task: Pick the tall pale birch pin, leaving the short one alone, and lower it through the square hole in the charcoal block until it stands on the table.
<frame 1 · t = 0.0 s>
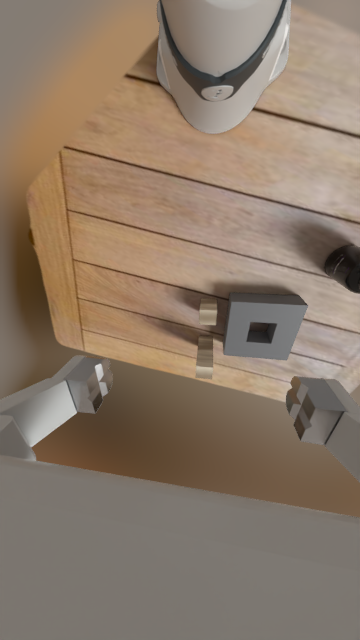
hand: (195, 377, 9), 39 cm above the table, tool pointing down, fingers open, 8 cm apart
supplement bottle: (341, 261, 40), on the table
tall pin: (205, 341, 56), on the table
socket block: (257, 321, 51), on the table
short pin: (208, 305, 50), on the table
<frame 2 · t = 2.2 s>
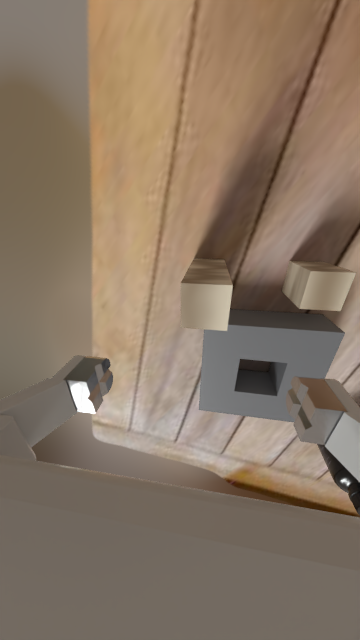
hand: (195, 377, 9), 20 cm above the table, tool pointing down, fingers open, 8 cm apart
supplement bottle: (329, 424, 35), on the table
tall pin: (208, 274, 26), on the table
socket block: (252, 356, 31), on the table
short pin: (301, 277, 25), on the table
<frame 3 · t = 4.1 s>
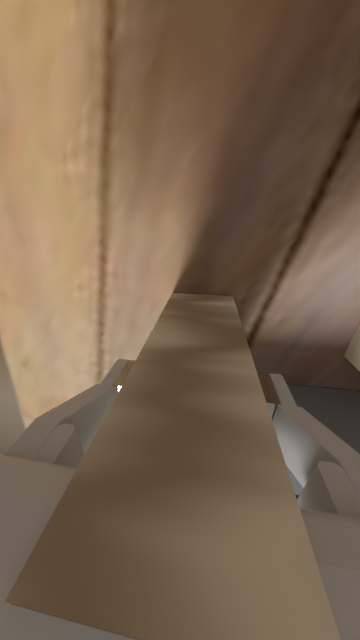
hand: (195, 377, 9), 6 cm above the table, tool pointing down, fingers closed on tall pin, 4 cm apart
tall pin: (200, 321, 14), on the table, touching gripper
socket block: (277, 446, 18), on the table
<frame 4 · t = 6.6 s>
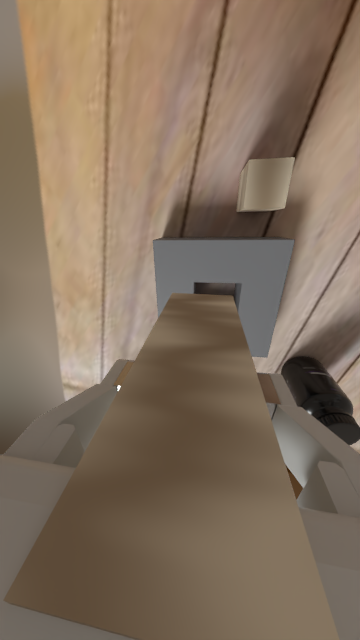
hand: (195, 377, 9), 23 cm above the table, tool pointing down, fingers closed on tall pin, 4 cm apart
supplement bottle: (299, 369, 35), on the table
tall pin: (200, 320, 14), point 17 cm above the table, touching gripper
socket block: (214, 292, 30), on the table
short pin: (254, 193, 24), on the table
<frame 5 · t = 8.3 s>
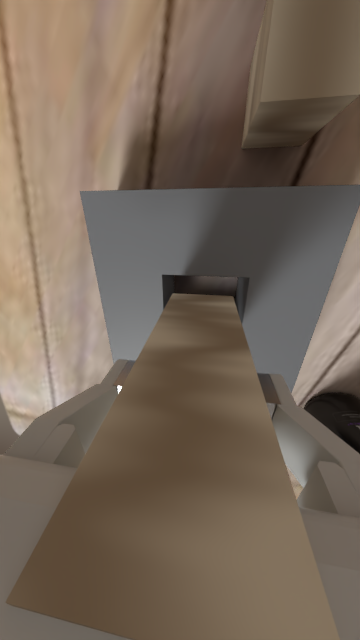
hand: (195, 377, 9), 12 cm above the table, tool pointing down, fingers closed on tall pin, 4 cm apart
supplement bottle: (330, 409, 23), on the table
tall pin: (200, 321, 14), point 6 cm above the table, touching gripper
socket block: (204, 294, 19), on the table
short pin: (277, 107, 13), on the table
when the fingers open (7 cm above the table, at t = 9.5 s): tall pin drops 1 cm, resting in socket block.
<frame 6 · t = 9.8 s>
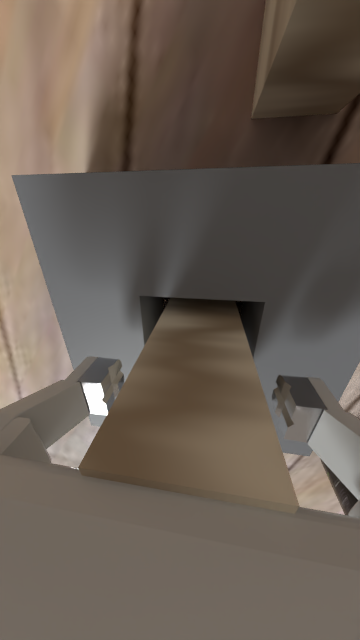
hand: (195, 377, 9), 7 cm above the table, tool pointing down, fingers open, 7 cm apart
supplement bottle: (352, 446, 19), on the table
tall pin: (202, 312, 15), resting in socket block
socket block: (201, 312, 15), on the table
short pin: (304, 55, 9), on the table
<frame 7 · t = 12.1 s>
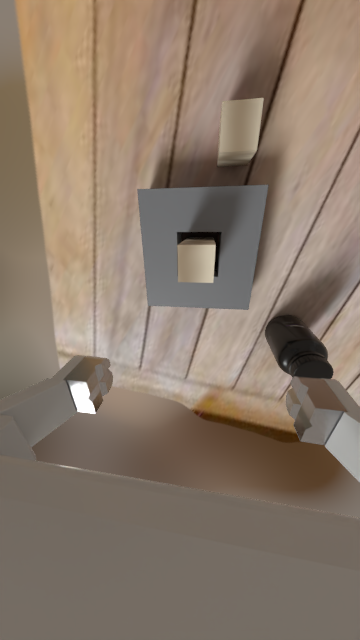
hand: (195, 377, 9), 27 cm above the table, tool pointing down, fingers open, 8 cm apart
supplement bottle: (282, 329, 36), on the table
tall pin: (200, 250, 32), resting in socket block
socket block: (199, 250, 32), on the table
short pin: (233, 146, 25), on the table
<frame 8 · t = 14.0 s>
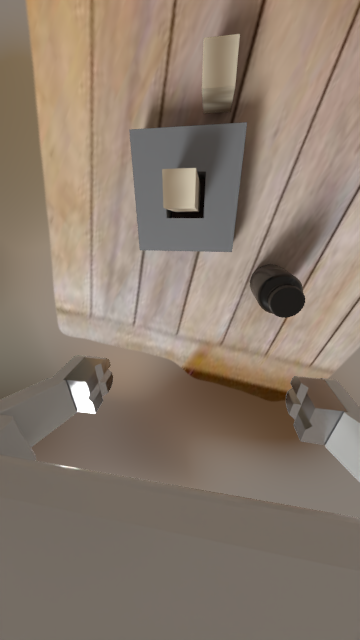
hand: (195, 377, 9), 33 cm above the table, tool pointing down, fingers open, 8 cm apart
supplement bottle: (266, 280, 38), on the table
tall pin: (188, 199, 34), resting in socket block
socket block: (188, 199, 34), on the table
short pin: (218, 93, 28), on the table
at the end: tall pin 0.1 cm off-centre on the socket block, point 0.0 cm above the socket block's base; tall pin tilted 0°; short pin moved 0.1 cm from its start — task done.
